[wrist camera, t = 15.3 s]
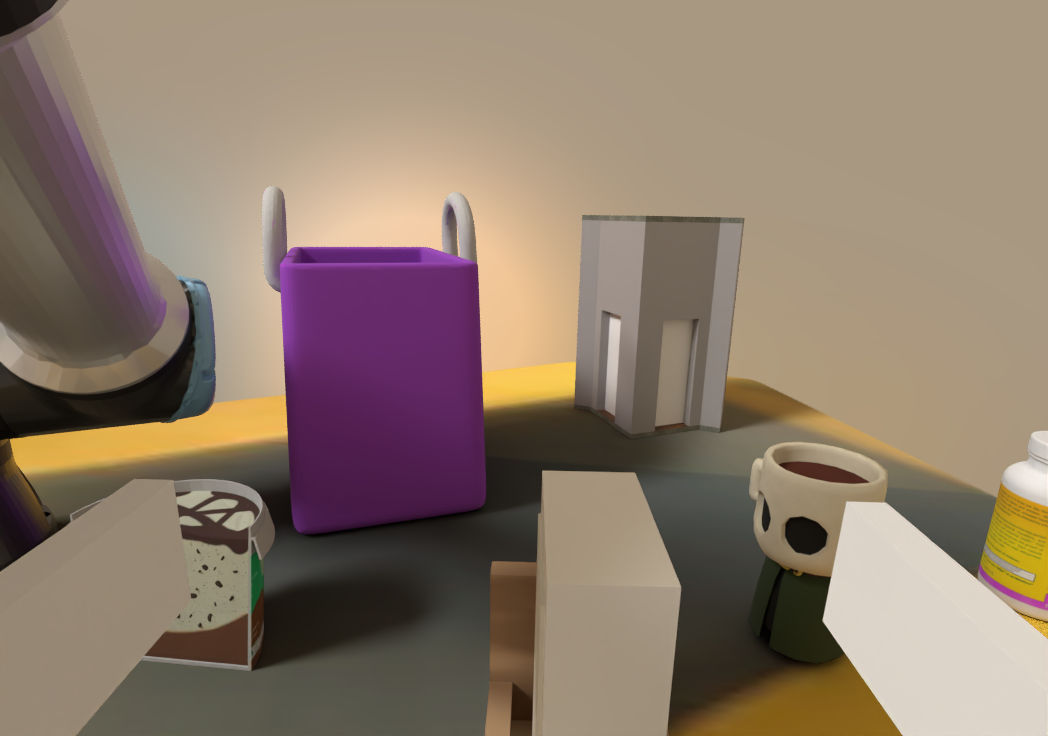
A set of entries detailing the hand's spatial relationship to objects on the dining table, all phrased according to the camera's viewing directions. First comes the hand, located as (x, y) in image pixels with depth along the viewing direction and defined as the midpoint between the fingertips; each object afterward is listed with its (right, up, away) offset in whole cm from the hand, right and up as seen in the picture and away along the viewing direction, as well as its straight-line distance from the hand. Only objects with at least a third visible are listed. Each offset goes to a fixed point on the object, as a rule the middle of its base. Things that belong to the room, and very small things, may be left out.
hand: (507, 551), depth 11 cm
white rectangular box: (+3, -17, +14) cm, 22 cm away
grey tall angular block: (+16, -5, +68) cm, 70 cm away
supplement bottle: (+39, -14, +33) cm, 53 cm away
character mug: (+19, -15, +28) cm, 37 cm away
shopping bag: (-16, -8, +53) cm, 56 cm away
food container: (-21, -14, +28) cm, 38 cm away
